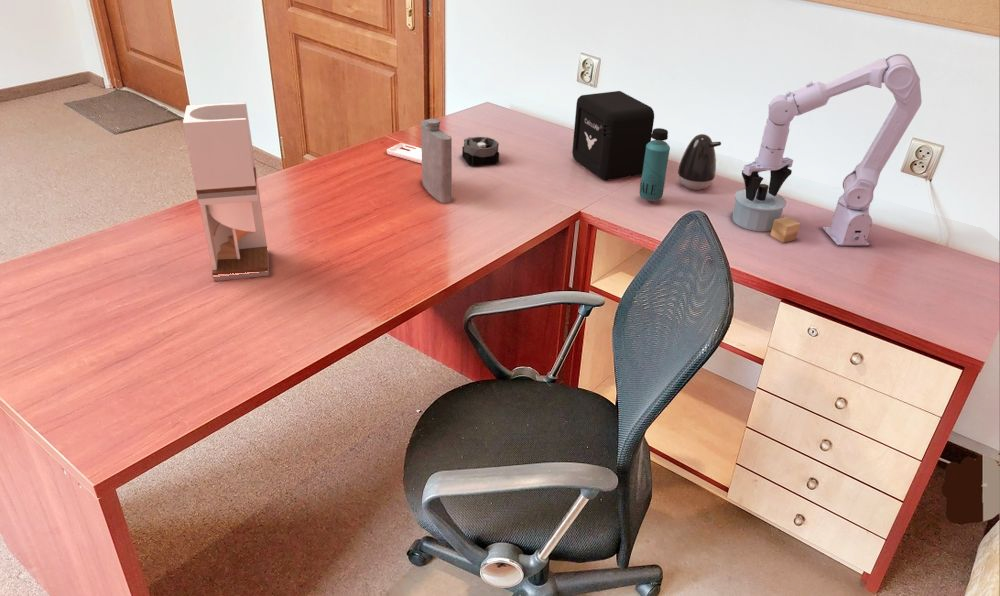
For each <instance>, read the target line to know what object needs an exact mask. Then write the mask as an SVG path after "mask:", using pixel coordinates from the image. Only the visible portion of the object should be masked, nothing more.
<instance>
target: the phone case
mask: <svg viewBox="0 0 1000 596" xmlns="http://www.w3.org/2000/svg"><path fill="white" fill-rule="evenodd" d="M386 154H387V155H389V156H393V157H396V158H400V159H403V160H407V161H411V162H415V163H418V164H421V165H422V149H421V147H420V146H419V147H418V146H415V145H411V144H407V143H404V142H400V143H397V144H395V145H393V146H391V147H389V148H386Z"/></svg>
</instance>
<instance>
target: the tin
mask: <svg viewBox="0 0 1000 596" xmlns="http://www.w3.org/2000/svg"><path fill="white" fill-rule="evenodd" d="M783 211H784V208H783V209H781V210H777V211H761V210H755V209H751V208H748V207H745V206H743V205H741V204H740V203H738V202H737V201H736V200H735V202H734V207H733V211H732V217H731V218H732V221H733V222H734V223H735V224H736V225H737V226H738V227H740V228H743V229H745V230H749V231H754V232H771V231H772V227H773V223H774V220H775V219H779V218H782V215H783Z"/></svg>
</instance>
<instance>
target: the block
mask: <svg viewBox="0 0 1000 596" xmlns="http://www.w3.org/2000/svg"><path fill="white" fill-rule="evenodd" d="M800 228H801V223H800V222H798V221H796V220H795V219H793V218H791V217H789V216H783V217H781V218H779V219H775V220H774V223H773V227H772V231H770V237H772V238H774V239H776V240H777V241H779V242H780V243H783V244H784V243H788V242H792V241H796V240H797V239H798V234H799V231H800Z"/></svg>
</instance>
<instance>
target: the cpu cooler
mask: <svg viewBox="0 0 1000 596" xmlns="http://www.w3.org/2000/svg"><path fill="white" fill-rule="evenodd" d="M499 145H500V143H499V141H497V140H495V139H493V138H491V137H487V136H473V137H472V136H469V137H467V138H464V139H463V146H462V147H461V148H462V149H461V150H462V151H461V153H462V155H461V156H462V158H463V159H464V161H465V162H466V164H467V165H468V166H472V167H479V166H490V165H497V164H499V163H500V152H499V147H500V146H499Z"/></svg>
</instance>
